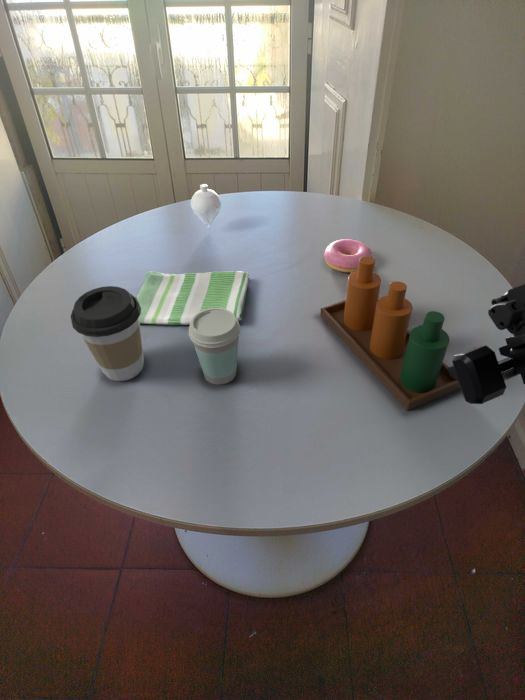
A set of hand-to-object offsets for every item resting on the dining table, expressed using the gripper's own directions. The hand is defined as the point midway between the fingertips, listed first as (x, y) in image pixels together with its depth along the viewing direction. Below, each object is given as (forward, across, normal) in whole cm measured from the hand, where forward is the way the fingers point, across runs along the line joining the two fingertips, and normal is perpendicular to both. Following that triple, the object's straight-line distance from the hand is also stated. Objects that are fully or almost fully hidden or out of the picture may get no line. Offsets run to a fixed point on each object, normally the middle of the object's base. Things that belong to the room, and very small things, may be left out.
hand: (475, 361), depth 66 cm
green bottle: (+15, 0, +2) cm, 16 cm away
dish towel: (+45, +27, -26) cm, 58 cm away
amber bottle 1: (+28, 0, -10) cm, 30 cm away
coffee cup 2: (+28, +30, -10) cm, 42 cm away
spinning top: (+65, +13, -46) cm, 81 cm away
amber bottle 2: (+22, 0, -4) cm, 22 cm away
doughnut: (+43, -10, -24) cm, 50 cm away
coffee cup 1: (+35, +45, -16) cm, 59 cm away
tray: (+23, 0, -4) cm, 23 cm away
